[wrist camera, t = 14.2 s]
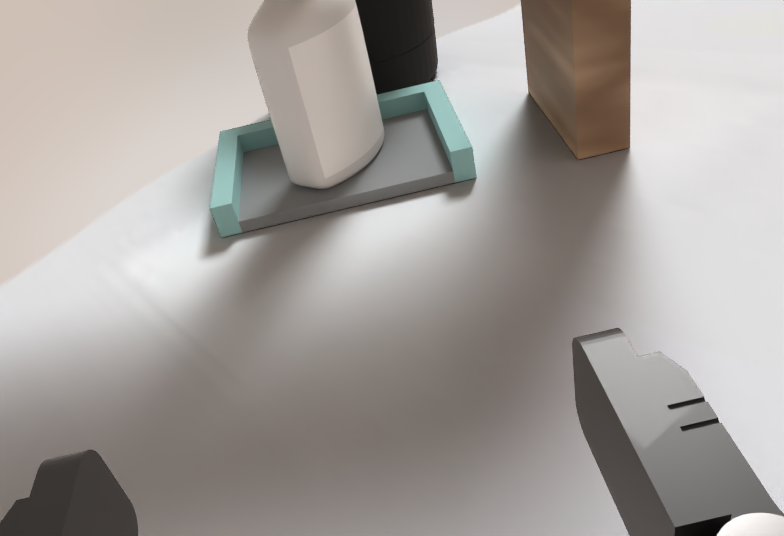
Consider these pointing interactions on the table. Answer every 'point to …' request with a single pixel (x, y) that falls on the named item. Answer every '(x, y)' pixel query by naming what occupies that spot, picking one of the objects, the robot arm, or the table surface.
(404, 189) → the mint green tray
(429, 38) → the pen holder
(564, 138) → the shelf
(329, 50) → the eye dropper bottle
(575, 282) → the table surface
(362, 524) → the table surface
